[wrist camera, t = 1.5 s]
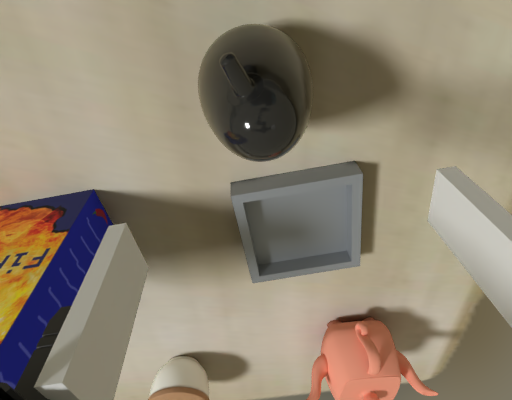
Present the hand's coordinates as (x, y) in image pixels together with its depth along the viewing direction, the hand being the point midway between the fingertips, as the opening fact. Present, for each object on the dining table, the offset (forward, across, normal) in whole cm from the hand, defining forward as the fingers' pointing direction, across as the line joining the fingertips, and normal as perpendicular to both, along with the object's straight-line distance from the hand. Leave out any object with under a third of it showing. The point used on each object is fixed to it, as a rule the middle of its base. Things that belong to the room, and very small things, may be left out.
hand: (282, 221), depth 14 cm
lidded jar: (+24, -22, -51) cm, 60 cm away
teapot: (+24, +10, -49) cm, 55 cm away
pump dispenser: (+24, 0, 0) cm, 24 cm away
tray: (+24, +3, -20) cm, 31 cm away
